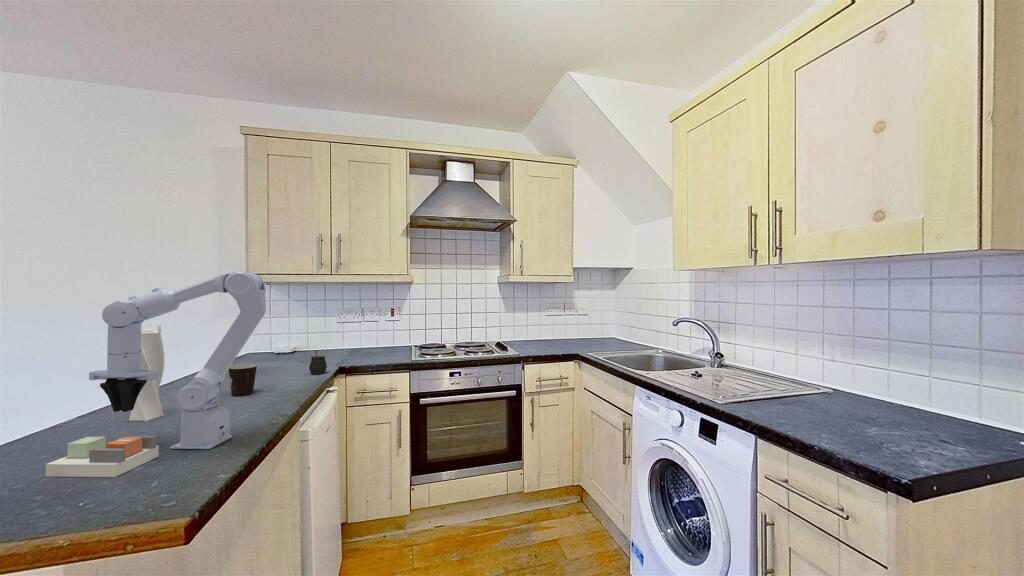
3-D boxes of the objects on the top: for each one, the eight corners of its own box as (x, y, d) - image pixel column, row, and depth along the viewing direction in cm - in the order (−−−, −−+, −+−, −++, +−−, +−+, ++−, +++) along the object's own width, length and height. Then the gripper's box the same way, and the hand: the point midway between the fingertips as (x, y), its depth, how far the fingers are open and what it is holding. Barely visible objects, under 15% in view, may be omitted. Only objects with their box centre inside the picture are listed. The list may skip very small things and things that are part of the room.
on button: (105, 451, 88) (106, 436, 88) (86, 459, 84) (86, 443, 84) (87, 451, 88) (87, 436, 88) (67, 459, 84) (67, 443, 84)
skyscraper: (173, 415, 121) (175, 322, 122) (146, 424, 113) (148, 325, 114) (148, 414, 122) (150, 322, 122) (120, 422, 114) (121, 324, 114)
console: (159, 456, 91) (159, 434, 91) (116, 477, 81) (116, 452, 81) (96, 456, 91) (97, 433, 91) (45, 476, 81) (46, 451, 81)
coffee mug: (232, 392, 148) (232, 365, 148) (259, 390, 151) (259, 363, 151) (221, 400, 137) (222, 371, 137) (251, 398, 140) (251, 369, 140)
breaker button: (142, 452, 88) (142, 436, 88) (124, 459, 84) (124, 443, 84) (124, 452, 88) (124, 436, 88) (105, 459, 84) (105, 443, 84)
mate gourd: (313, 376, 177) (313, 353, 177) (305, 374, 181) (305, 351, 181) (329, 373, 182) (329, 351, 182) (321, 371, 187) (321, 350, 187)
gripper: (170, 350, 98) (169, 406, 98) (110, 349, 98) (109, 405, 98) (143, 355, 91) (142, 414, 91) (79, 354, 91) (78, 414, 91)
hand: (123, 410), depth 94 cm, fingers closed
